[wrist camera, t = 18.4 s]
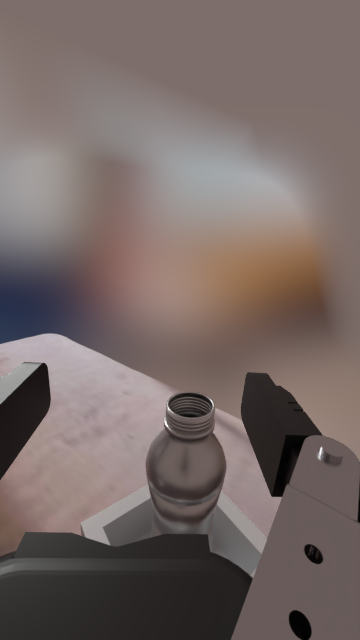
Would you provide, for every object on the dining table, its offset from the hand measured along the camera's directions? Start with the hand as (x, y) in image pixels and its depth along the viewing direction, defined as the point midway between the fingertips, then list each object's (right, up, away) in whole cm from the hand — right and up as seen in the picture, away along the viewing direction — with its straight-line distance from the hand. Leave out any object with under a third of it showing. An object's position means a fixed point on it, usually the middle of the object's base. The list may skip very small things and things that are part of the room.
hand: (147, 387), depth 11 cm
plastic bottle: (+1, -23, +15) cm, 27 cm away
